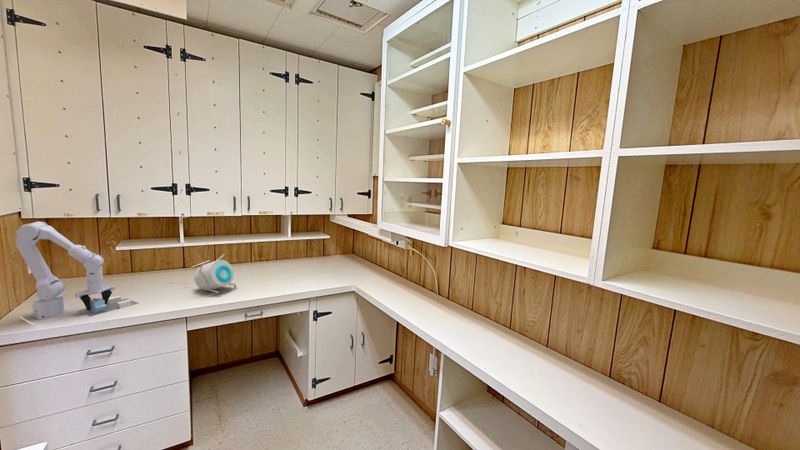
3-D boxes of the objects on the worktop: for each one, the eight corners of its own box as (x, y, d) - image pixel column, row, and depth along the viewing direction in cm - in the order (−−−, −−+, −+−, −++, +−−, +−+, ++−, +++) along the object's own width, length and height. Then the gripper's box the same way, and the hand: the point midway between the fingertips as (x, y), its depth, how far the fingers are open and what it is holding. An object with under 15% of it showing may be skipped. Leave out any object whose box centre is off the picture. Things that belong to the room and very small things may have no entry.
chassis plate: (90, 318, 152) (89, 311, 152) (77, 312, 157) (76, 305, 157) (139, 305, 170) (139, 298, 170) (126, 300, 175) (126, 293, 175)
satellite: (210, 256, 210) (174, 268, 186) (233, 248, 203) (198, 259, 180) (223, 289, 212) (189, 305, 188) (246, 281, 205) (214, 297, 182)
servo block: (97, 313, 155) (96, 302, 154) (86, 309, 159) (85, 298, 158) (107, 311, 159) (106, 300, 158) (96, 306, 163) (96, 295, 162)
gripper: (79, 286, 149) (81, 314, 151) (117, 278, 162) (119, 304, 164) (71, 283, 152) (73, 311, 154) (110, 276, 165) (111, 301, 167)
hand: (96, 307), depth 159 cm, fingers open, 6 cm apart
